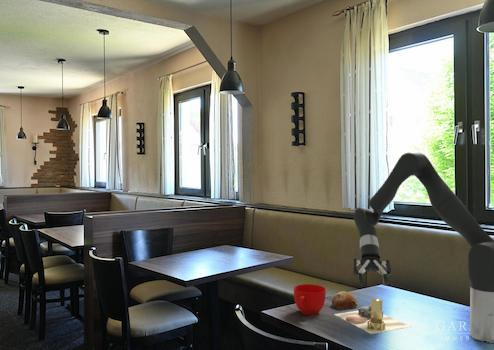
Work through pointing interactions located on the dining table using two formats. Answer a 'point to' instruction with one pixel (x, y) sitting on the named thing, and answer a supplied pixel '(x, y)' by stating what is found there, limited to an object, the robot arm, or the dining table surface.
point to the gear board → (364, 315)
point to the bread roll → (344, 300)
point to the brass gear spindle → (376, 315)
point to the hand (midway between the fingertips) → (373, 284)
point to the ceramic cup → (309, 298)
